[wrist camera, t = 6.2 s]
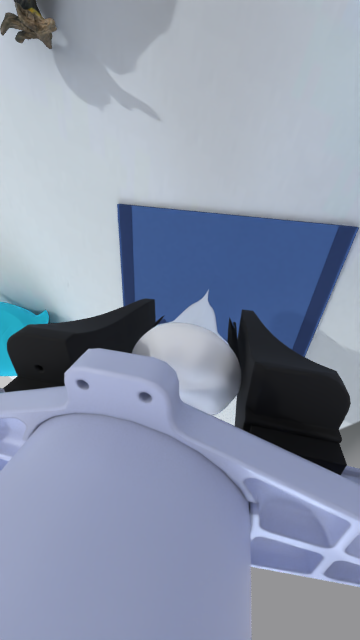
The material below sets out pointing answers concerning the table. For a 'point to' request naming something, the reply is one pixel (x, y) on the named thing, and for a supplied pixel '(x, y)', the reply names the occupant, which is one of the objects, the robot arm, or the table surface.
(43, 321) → the toy shark
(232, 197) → the table surface
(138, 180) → the table surface
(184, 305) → the milkshake
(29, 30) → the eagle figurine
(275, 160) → the table surface
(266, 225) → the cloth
